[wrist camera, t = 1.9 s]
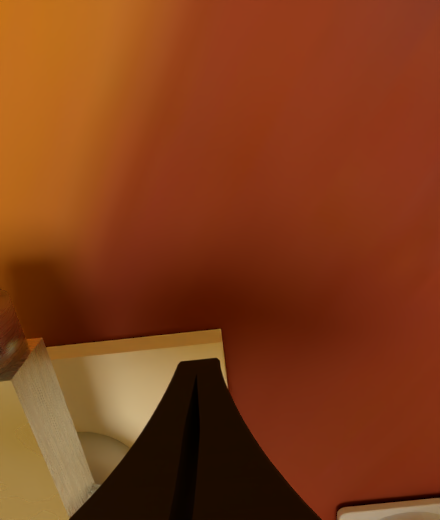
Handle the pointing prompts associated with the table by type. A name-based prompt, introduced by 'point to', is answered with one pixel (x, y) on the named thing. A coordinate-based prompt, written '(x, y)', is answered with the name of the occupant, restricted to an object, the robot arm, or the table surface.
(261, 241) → the table surface
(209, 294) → the table surface
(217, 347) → the base
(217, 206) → the table surface
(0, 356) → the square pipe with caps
